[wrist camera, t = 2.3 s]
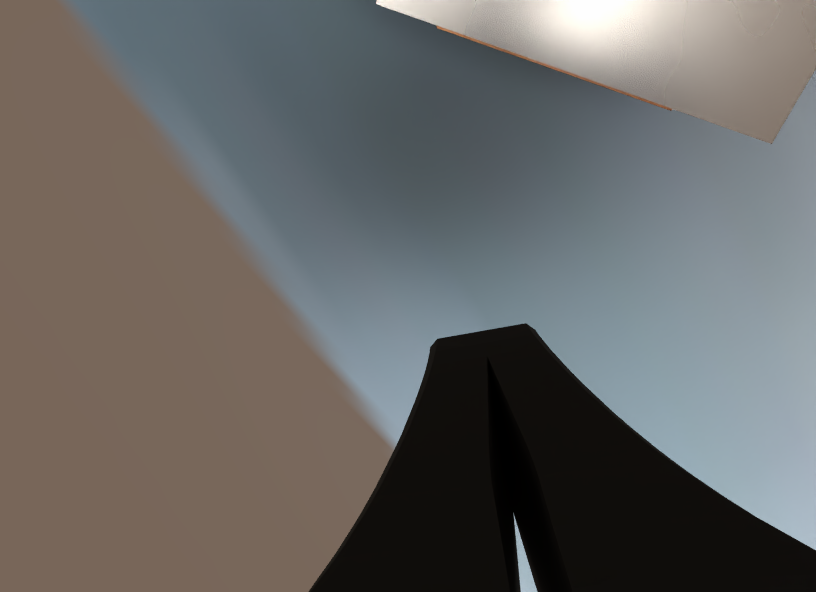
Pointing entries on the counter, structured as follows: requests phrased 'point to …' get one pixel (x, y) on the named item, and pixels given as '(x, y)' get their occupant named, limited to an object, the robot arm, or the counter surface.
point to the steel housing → (655, 49)
